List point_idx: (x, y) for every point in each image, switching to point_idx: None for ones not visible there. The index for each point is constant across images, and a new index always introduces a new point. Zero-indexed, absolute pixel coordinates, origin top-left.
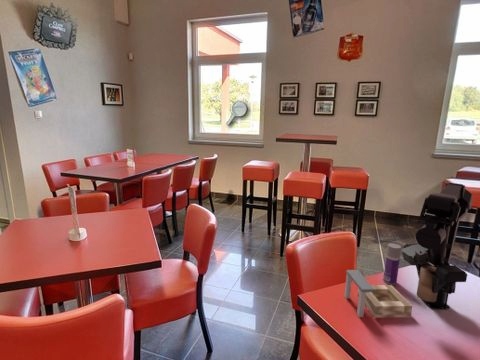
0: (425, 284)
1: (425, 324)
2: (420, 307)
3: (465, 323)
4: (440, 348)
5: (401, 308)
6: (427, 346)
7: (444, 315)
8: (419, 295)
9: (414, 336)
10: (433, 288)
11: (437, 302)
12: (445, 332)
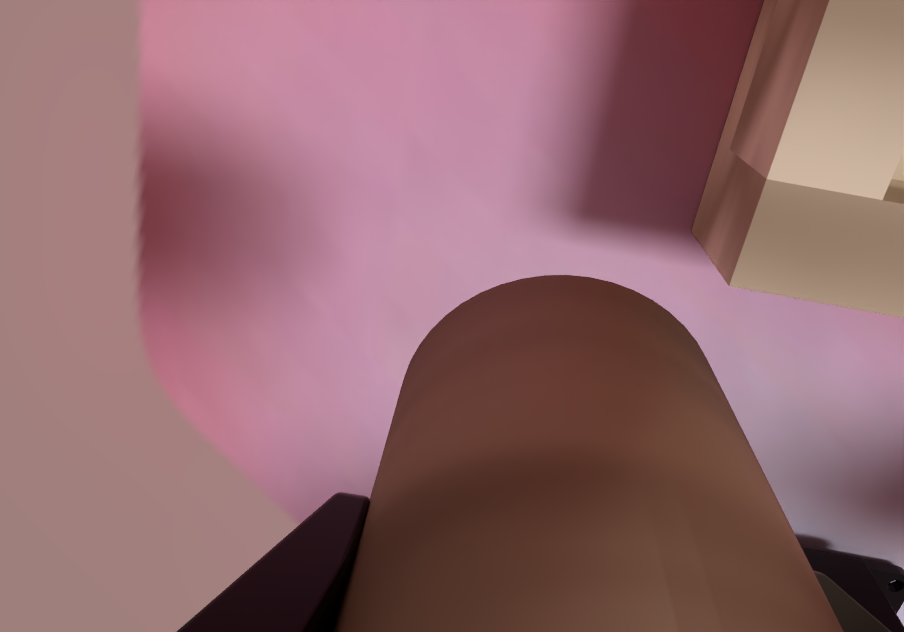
0: (471, 513)
1: None
2: (781, 454)
3: None
4: (226, 148)
5: (769, 123)
6: (261, 34)
7: None
8: (568, 293)
9: (414, 11)
10: (273, 562)
11: None
12: None
